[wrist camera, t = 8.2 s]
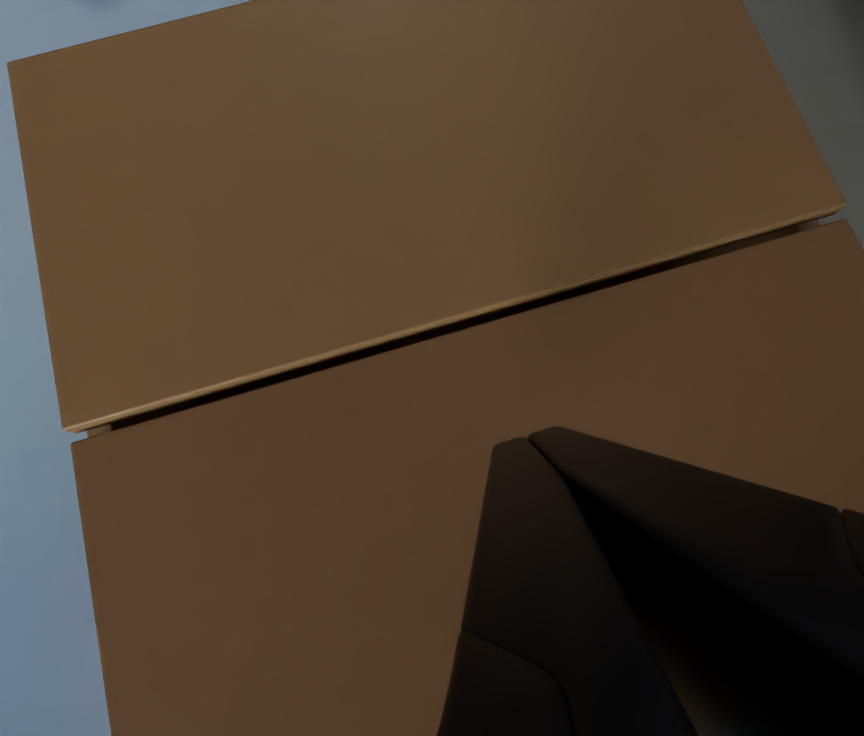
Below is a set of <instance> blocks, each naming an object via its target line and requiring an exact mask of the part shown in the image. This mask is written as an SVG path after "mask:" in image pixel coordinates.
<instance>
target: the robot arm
mask: <svg viewBox="0 0 864 736" xmlns="http://www.w3.org/2000/svg"><path fill="white" fill-rule="evenodd" d="M436 736H864V513H861V512H857V511H854V510H850V509H843V510H842V511H841V513H840V512H839V510H838V508H837V507H835V506H832V505H828V504H825V503H821V502H818V501H815V500H811V499H808V498H804V497H801V496H797V495H794V494H791V493H787V492H784V491H780V490H777V489H773V488H770V487H767V486H763V485H760V484H756V483H753V482H749V481H746V480H743V479H739V478H736V477H732V476H729V475H725V474H722V473H719V472H715V471H712V470H708V469H705V468H701V467H698V466H695V465H691V464H688V463H684V462H681V461H677V460H674V459H671V458H667V457H664V456H660V455H657V454H653V453H650V452H647V451H643V450H640V449H636V448H633V447H629V446H626V445H622V444H619V443H616V442H612V441H609V440H605V439H602V438H598V437H595V436H592V435H588V434H585V433H581V432H578V431H574V430H571V429H568V428H564V427H560V426H554V427H550V428H547V429H544V430H541V431H537V432H534V433H531V434H530V435H529V436H528V438H527V439H526V438H525V437H518V438H514V439H511V440H508V441H504V442H501V443H498V444H496V445H495V446H494V447H493V449H492V455H491V460H490V466H489V472H488V477H487V483H486V488H485V494H484V500H483V505H482V511H481V517H480V522H479V528H478V534H477V539H476V545H475V551H474V556H473V562H472V567H471V573H470V579H469V584H468V590H467V596H466V601H465V607H464V613H463V618H462V624H461V633H460V634H459V636H458V641H457V647H456V652H455V658H454V663H453V669H452V673H451V678H450V682H449V687H448V691H447V696H446V700H445V705H444V709H443V714H442V718H441V722H440V725H439V729H438V732H437V735H436Z"/></svg>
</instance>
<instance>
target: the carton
mask: <svg viewBox="0 0 864 736" xmlns="http://www.w3.org/2000/svg"><path fill="white" fill-rule="evenodd" d="M7 66H8V73H9V80H10V86H11V93H12V99H13V106H14V113H15V119H16V126H17V132H18V139H19V146H20V152H21V159H22V166H23V172H24V179H25V185H26V192H27V199H28V205H29V212H30V218H31V225H32V232H33V238H34V245H35V251H36V258H37V265H38V271H39V278H40V285H41V291H42V298H43V304H44V311H45V318H46V324H47V331H48V337H49V344H50V351H51V357H52V364H53V371H54V377H55V384H56V390H57V397H58V404H59V410H60V417H61V423H62V428H63V430H65V431H69V432H72V433H79V432H83V431H86V430H87V436H88V438H90V437H94V436H97V435H100V434H104V433H107V432H111V431H114V430H118V429H121V428H125V427H128V426H131V425H135V424H138V423H142V422H145V421H149V420H152V419H156V418H159V417H163V416H166V415H169V414H173V413H176V412H180V411H183V410H187V409H190V408H194V407H197V406H200V405H204V404H207V403H211V402H214V401H218V400H221V399H225V398H228V397H232V396H235V395H238V394H242V393H245V392H249V391H252V390H256V389H259V388H263V387H266V386H269V385H273V384H276V383H280V382H283V381H287V380H290V379H294V378H297V377H301V376H304V375H307V374H311V373H314V372H318V371H321V370H325V369H328V368H332V367H335V366H338V365H342V364H345V363H349V362H352V361H356V360H359V359H363V358H366V357H370V356H373V355H376V354H380V353H383V352H387V351H390V350H394V349H397V348H401V347H404V346H407V345H411V344H414V343H418V342H421V341H425V340H428V339H432V338H435V337H439V336H442V335H445V334H449V333H452V332H456V331H459V330H463V329H466V328H470V327H473V326H476V325H480V324H483V323H487V322H490V321H494V320H497V319H501V318H504V317H508V316H511V315H514V314H518V313H521V312H525V311H528V310H532V309H535V308H539V307H542V306H545V305H549V304H552V303H556V302H559V301H563V300H566V299H570V298H573V297H577V296H580V295H583V294H587V293H590V292H594V291H597V290H601V289H604V288H608V287H611V286H614V285H618V284H621V283H625V282H628V281H632V280H635V279H639V278H642V277H646V276H649V275H652V274H656V273H659V272H663V271H666V270H670V269H673V268H677V267H680V266H683V265H687V264H690V263H694V262H697V261H701V260H704V259H708V258H711V257H715V256H718V255H721V254H725V253H728V252H732V251H735V250H739V249H742V248H746V247H749V246H752V245H756V244H759V243H763V242H766V241H770V240H773V239H777V238H780V237H784V236H787V235H790V234H794V233H797V232H801V231H804V230H808V229H811V228H815V227H818V226H820V224H819V222H818V220H817V219H820V218H823V217H827V216H830V215H834V214H835V213H836V212H837V211H838V210H840V209H841V208H842V207H843V206H844V205H846V201H845V199H844V197H843V195H842V193H841V191H840V189H839V187H838V186H837V184H836V182H835V180H834V178H833V176H832V174H831V172H830V170H829V168H828V166H827V164H826V162H825V161H824V159H823V157H822V155H821V153H820V151H819V149H818V147H817V145H816V143H815V141H814V139H813V137H812V136H811V134H810V132H809V130H808V128H807V126H806V124H805V122H804V120H803V118H802V116H801V114H800V112H799V111H798V109H797V107H796V105H795V103H794V101H793V99H792V97H791V95H790V93H789V91H788V89H787V87H786V86H785V84H784V82H783V80H782V78H781V76H780V74H779V72H778V70H777V68H776V66H775V64H774V62H773V61H772V59H771V57H770V55H769V53H768V51H767V49H766V47H765V45H764V43H763V41H762V39H761V37H760V36H759V34H758V32H757V30H756V28H755V26H754V24H753V22H752V20H751V18H750V16H749V14H748V12H747V11H746V9H745V7H744V5H743V3H742V1H741V0H253V1H249V2H245V3H241V4H237V5H233V6H229V7H225V8H221V9H217V10H213V11H209V12H206V13H202V14H198V15H194V16H190V17H186V18H182V19H178V20H174V21H170V22H166V23H162V24H158V25H154V26H150V27H146V28H142V29H138V30H134V31H130V32H126V33H122V34H118V35H114V36H110V37H106V38H102V39H98V40H94V41H90V42H86V43H82V44H78V45H74V46H71V47H67V48H63V49H59V50H55V51H51V52H47V53H43V54H39V55H35V56H31V57H27V58H23V59H19V60H15V61H11V62H8V63H7Z"/></svg>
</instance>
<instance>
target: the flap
mask: <svg viewBox="0 0 864 736" xmlns="http://www.w3.org/2000/svg"><path fill="white" fill-rule="evenodd" d="M554 426H560V427H564V428H568V429H571V430H574V431H578V432H581V433H585V434H588V435H592V436H595V437H598V438H602V439H605V440H609V441H612V442H616V443H619V444H622V445H626V446H629V447H633V448H636V449H640V450H643V451H647V452H650V453H653V454H657V455H660V456H664V457H667V458H671V459H674V460H677V461H681V462H684V463H688V464H691V465H695V466H698V467H701V468H705V469H708V470H712V471H715V472H719V473H722V474H725V475H729V476H732V477H736V478H739V479H743V480H746V481H749V482H753V483H756V484H760V485H763V486H767V487H770V488H773V489H777V490H780V491H784V492H787V493H791V494H794V495H797V496H801V497H804V498H808V499H811V500H815V501H818V502H821V503H825V504H828V505H832V506H835V507H837V508H838V510H839V512H840V513H841V511H842V510H843V509H850V510H854V511H857V512H861V513H864V251H863V249H862V248H861V246H860V244H859V242H858V240H857V238H856V236H855V235H854V233H853V231H852V229H851V227H850V225H849V223H848V222H847V220H846V219H842V220H839V221H835V222H832V223H828V224H825V225H822V226H818V227H815V228H811V229H808V230H804V231H801V232H797V233H794V234H790V235H787V236H784V237H780V238H777V239H773V240H770V241H766V242H763V243H759V244H756V245H752V246H749V247H746V248H742V249H739V250H735V251H732V252H728V253H725V254H721V255H718V256H715V257H711V258H708V259H704V260H701V261H697V262H694V263H690V264H687V265H683V266H680V267H677V268H673V269H670V270H666V271H663V272H659V273H656V274H652V275H649V276H646V277H642V278H639V279H635V280H632V281H628V282H625V283H621V284H618V285H614V286H611V287H608V288H604V289H601V290H597V291H594V292H590V293H587V294H583V295H580V296H577V297H573V298H570V299H566V300H563V301H559V302H556V303H552V304H549V305H545V306H542V307H539V308H535V309H532V310H528V311H525V312H521V313H518V314H514V315H511V316H508V317H504V318H501V319H497V320H494V321H490V322H487V323H483V324H480V325H476V326H473V327H470V328H466V329H463V330H459V331H456V332H452V333H449V334H445V335H442V336H439V337H435V338H432V339H428V340H425V341H421V342H418V343H414V344H411V345H407V346H404V347H401V348H397V349H394V350H390V351H387V352H383V353H380V354H376V355H373V356H370V357H366V358H363V359H359V360H356V361H352V362H349V363H345V364H342V365H338V366H335V367H332V368H328V369H325V370H321V371H318V372H314V373H311V374H307V375H304V376H301V377H297V378H294V379H290V380H287V381H283V382H280V383H276V384H273V385H269V386H266V387H263V388H259V389H256V390H252V391H249V392H245V393H242V394H238V395H235V396H232V397H228V398H225V399H221V400H218V401H214V402H211V403H207V404H204V405H200V406H197V407H194V408H190V409H187V410H183V411H180V412H176V413H173V414H169V415H166V416H163V417H159V418H156V419H152V420H149V421H145V422H142V423H138V424H135V425H131V426H128V427H125V428H121V429H118V430H114V431H111V432H107V433H104V434H100V435H97V436H94V437H90V438H87V439H83V440H80V441H76V442H73V443H71V451H72V458H73V465H74V472H75V480H76V487H77V494H78V501H79V508H80V515H81V522H82V529H83V537H84V544H85V551H86V558H87V565H88V572H89V579H90V587H91V594H92V601H93V608H94V615H95V622H96V629H97V636H98V644H99V651H100V658H101V665H102V672H103V679H104V686H105V694H106V701H107V708H108V715H109V722H110V729H111V736H436V735H437V732H438V729H439V725H440V722H441V718H442V714H443V709H444V705H445V700H446V696H447V691H448V687H449V682H450V678H451V673H452V669H453V663H454V658H455V652H456V647H457V641H458V636H459V634H460V633H461V624H462V618H463V613H464V607H465V601H466V596H467V590H468V584H469V579H470V573H471V567H472V562H473V556H474V551H475V545H476V539H477V534H478V528H479V522H480V517H481V511H482V505H483V500H484V494H485V488H486V483H487V477H488V472H489V466H490V460H491V455H492V449H493V447H494V446H495V445H496V444H498V443H501V442H504V441H508V440H511V439H514V438H518V437H525V438H526V439H527V438H528V436H529V435H530V434H531V433H534V432H537V431H541V430H544V429H547V428H550V427H554Z"/></svg>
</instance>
